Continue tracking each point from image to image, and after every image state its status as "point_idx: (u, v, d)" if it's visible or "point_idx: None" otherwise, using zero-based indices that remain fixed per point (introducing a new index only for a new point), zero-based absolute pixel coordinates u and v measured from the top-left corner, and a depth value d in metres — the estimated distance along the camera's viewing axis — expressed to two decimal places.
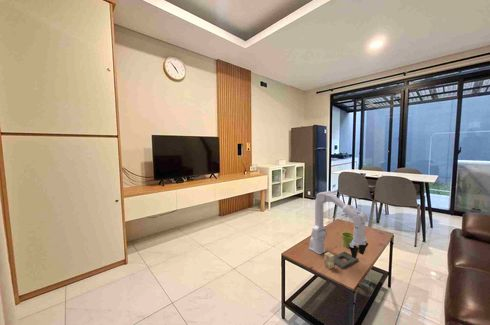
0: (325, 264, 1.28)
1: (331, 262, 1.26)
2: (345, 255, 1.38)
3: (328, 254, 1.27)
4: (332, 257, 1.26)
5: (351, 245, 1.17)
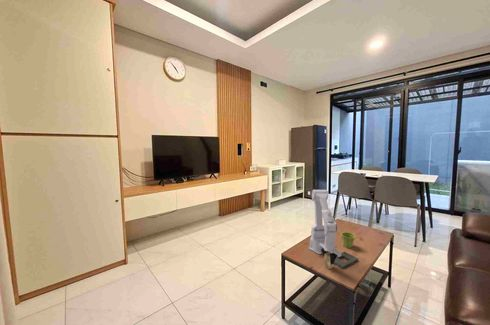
0: (325, 264, 1.28)
1: None
2: (345, 255, 1.38)
3: (328, 254, 1.27)
4: None
5: None
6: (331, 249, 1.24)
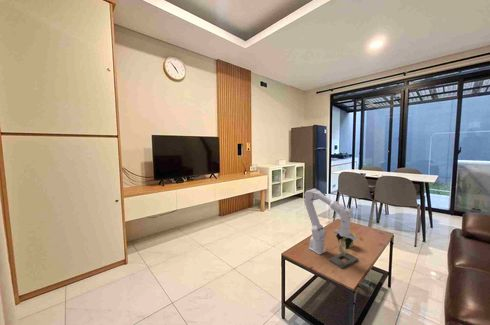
0: (340, 249, 1.33)
1: None
2: (345, 255, 1.38)
3: (343, 240, 1.33)
4: None
5: None
6: (346, 234, 1.30)
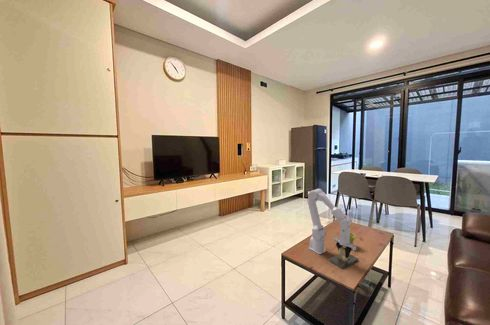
0: (339, 258, 1.34)
1: None
2: None
3: (342, 248, 1.33)
4: None
5: None
6: (346, 243, 1.30)
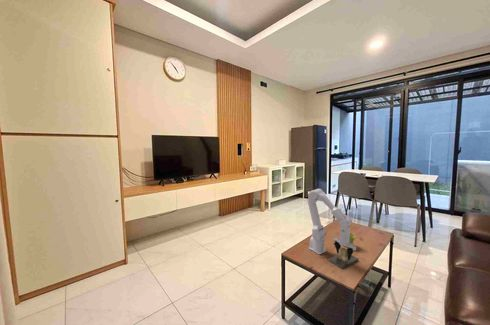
0: None
1: (346, 256, 1.32)
2: None
3: (342, 249, 1.33)
4: (346, 252, 1.32)
5: None
6: (346, 243, 1.30)
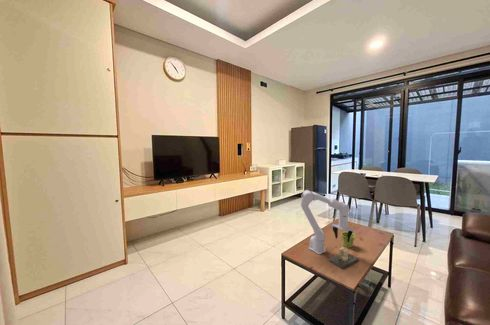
0: None
1: (346, 256, 1.32)
2: None
3: (342, 249, 1.33)
4: (346, 252, 1.32)
5: None
6: (346, 227, 1.40)
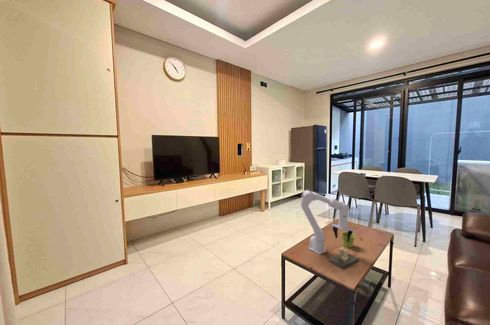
0: None
1: (346, 256, 1.32)
2: None
3: (342, 249, 1.33)
4: (346, 252, 1.32)
5: None
6: (346, 227, 1.40)
